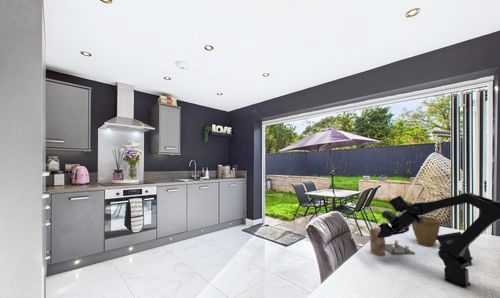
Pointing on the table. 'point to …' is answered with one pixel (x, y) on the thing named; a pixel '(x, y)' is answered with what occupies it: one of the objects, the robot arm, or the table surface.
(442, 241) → the black shoulder bracket
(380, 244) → the walnut block
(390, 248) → the standoff plate
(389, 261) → the table surface
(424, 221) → the plant pot
